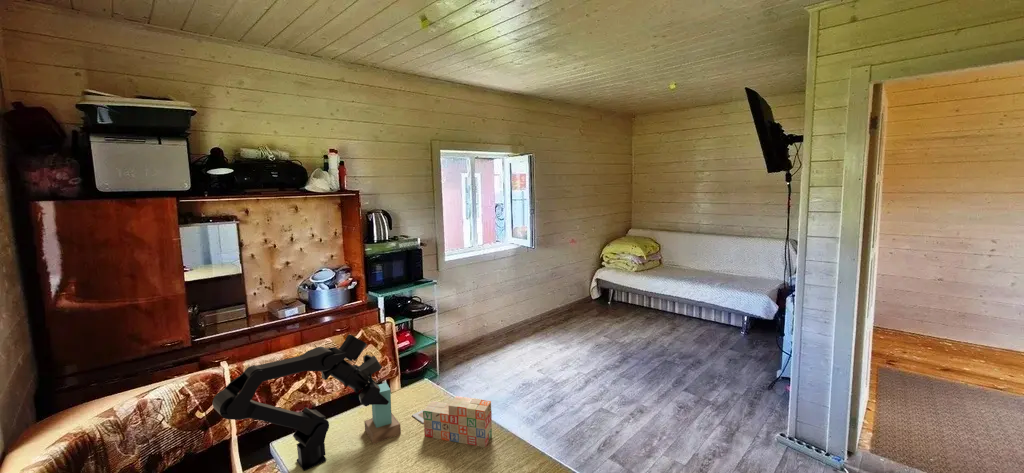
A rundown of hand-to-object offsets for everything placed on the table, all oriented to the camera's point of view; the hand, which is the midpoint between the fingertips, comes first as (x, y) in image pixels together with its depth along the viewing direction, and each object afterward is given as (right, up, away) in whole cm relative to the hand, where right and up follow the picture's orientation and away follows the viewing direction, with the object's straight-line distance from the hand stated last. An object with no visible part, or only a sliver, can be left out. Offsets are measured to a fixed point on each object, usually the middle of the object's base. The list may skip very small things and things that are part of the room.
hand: (384, 396), depth 140 cm
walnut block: (-1, -13, +1) cm, 13 cm away
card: (+13, -10, +11) cm, 20 cm away
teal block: (-1, -8, +1) cm, 8 cm away
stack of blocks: (+24, -12, -2) cm, 27 cm away
